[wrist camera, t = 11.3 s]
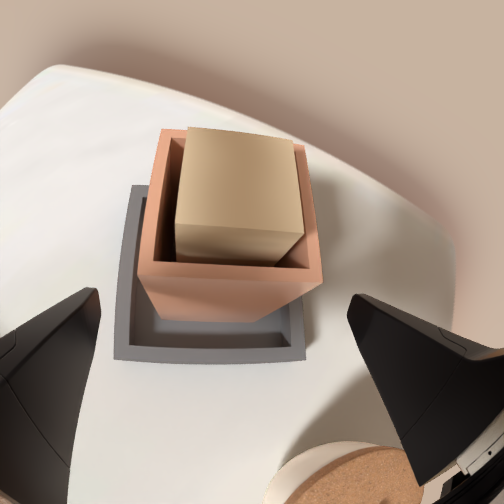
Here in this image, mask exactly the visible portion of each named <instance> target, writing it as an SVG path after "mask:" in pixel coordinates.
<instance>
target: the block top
mask: <svg viewBox="0 0 504 504" xmlns="http://www.w3.org/2000/svg"><path fill="white" fill-rule="evenodd" d="M303 234H304V226H303V217H302V208H301V200H300V192H299V184H298V176H297V169H296V162H295V155H294V148H293V141H292V140H288V139H282V138H276V137H270V136H264V135H257V134H250V133H242V132H235V131H226V130H217V129H207V128H195V127H188V130H187V136H186V142H185V149H184V155H183V162H182V169H181V176H180V184H179V192H178V200H177V209H176V218H175V240H176V261H177V263H194V264H213V265H232V266H253V267H273V266H274V265H275V264H276V263H277V262H278V261H279V260H280V259H281V258H282V257H283V256H284V255H285V254H286V252H287V251H288V250H289V249H290V248H291V247H292V246H293V245H294V244H295V243H296V242H297V241H298V240H299V238H300V237H301V236H302V235H303Z"/></svg>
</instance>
